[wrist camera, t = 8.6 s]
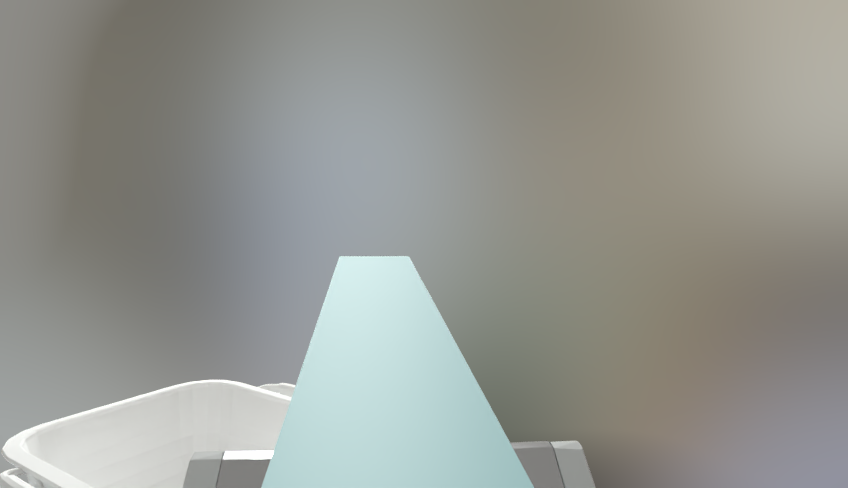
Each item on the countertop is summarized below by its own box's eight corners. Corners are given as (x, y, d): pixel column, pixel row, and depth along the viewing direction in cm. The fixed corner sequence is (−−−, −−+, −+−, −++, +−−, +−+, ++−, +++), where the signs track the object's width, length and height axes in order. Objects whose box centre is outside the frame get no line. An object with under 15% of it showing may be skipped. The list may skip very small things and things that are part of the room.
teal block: (555, 788, 7) (562, 540, 7) (244, 811, 7) (239, 554, 7) (408, 314, 33) (408, 256, 33) (339, 314, 33) (339, 256, 33)
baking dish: (231, 451, 93) (229, 365, 91) (386, 511, 77) (387, 408, 75) (-46, 567, 65) (-54, 446, 64) (107, 700, 49) (101, 541, 47)
